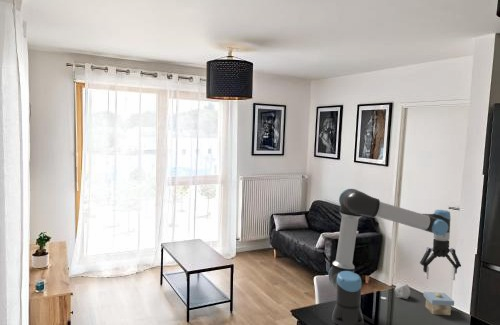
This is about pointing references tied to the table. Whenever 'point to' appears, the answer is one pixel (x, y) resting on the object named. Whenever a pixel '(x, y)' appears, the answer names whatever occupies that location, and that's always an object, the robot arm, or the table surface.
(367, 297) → the table surface
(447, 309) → the box
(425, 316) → the table surface
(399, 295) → the grey faceted lump
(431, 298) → the lid
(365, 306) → the table surface
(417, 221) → the robot arm
